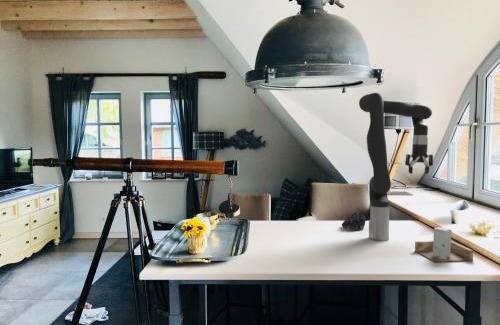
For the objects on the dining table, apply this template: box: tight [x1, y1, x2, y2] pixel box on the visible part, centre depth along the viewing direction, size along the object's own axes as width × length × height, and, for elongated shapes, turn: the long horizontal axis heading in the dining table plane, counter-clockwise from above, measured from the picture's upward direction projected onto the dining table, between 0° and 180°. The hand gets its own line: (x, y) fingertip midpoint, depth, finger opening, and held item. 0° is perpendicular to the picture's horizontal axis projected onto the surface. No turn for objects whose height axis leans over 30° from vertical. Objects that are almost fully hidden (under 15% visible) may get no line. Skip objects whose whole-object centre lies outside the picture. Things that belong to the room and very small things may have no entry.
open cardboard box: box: [414, 240, 474, 264], centre depth 180 cm, size 17×17×5 cm
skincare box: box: [432, 226, 452, 258], centre depth 178 cm, size 6×4×12 cm
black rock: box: [341, 212, 367, 232], centre depth 234 cm, size 13×14×10 cm
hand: (418, 173), depth 219 cm, fingers open, 8 cm apart
